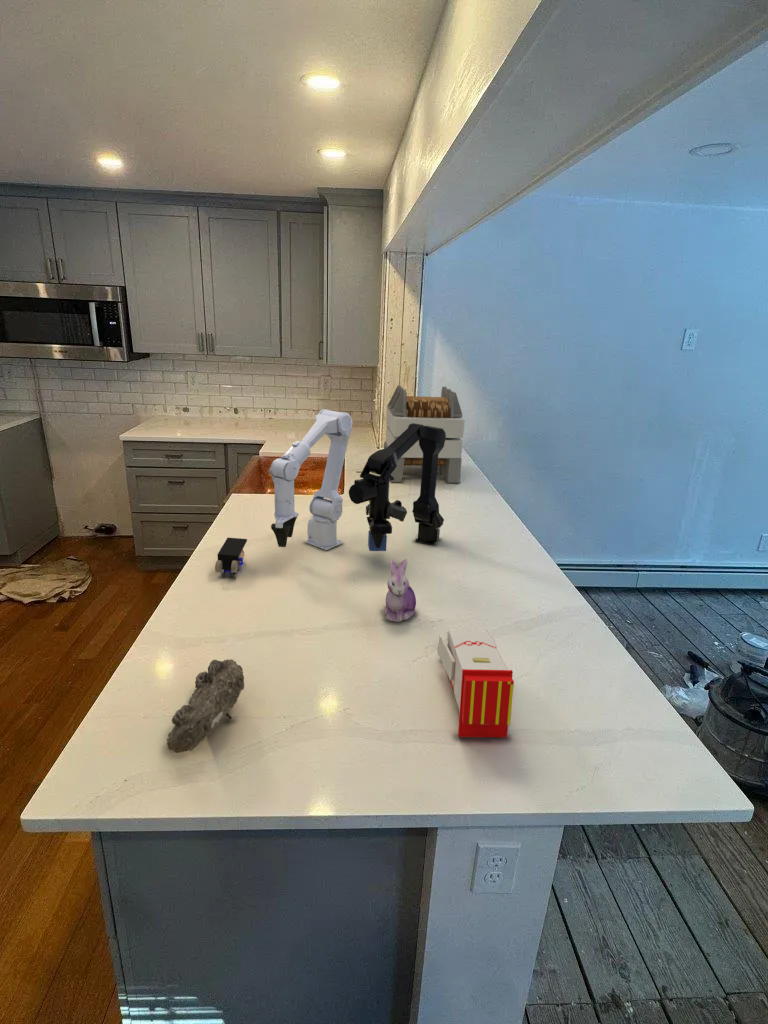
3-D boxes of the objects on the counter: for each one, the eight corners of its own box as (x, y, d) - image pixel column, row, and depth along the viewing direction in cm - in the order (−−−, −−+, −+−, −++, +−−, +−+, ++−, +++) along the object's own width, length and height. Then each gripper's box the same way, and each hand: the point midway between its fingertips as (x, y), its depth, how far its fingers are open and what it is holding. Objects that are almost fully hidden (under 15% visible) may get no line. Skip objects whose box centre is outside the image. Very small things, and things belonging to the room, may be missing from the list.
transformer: (382, 463, 289) (386, 382, 275) (445, 464, 293) (451, 384, 279) (390, 482, 257) (394, 392, 243) (460, 483, 261) (468, 394, 247)
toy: (488, 613, 130) (523, 677, 101) (484, 667, 133) (517, 744, 104) (435, 612, 130) (455, 676, 101) (432, 666, 133) (451, 743, 103)
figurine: (392, 627, 141) (395, 572, 136) (374, 608, 149) (376, 556, 144) (425, 619, 145) (429, 566, 140) (405, 601, 154) (408, 550, 149)
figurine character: (238, 584, 162) (249, 557, 175) (236, 562, 158) (247, 536, 172) (215, 584, 161) (227, 556, 175) (212, 561, 158) (225, 535, 171)
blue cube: (386, 551, 173) (386, 536, 171) (369, 551, 172) (369, 536, 171) (384, 545, 177) (385, 530, 176) (368, 545, 177) (368, 530, 175)
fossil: (192, 660, 117) (244, 628, 112) (224, 691, 120) (276, 661, 115) (142, 746, 98) (202, 712, 93) (182, 779, 101) (242, 748, 96)
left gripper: (292, 508, 160) (292, 552, 164) (303, 492, 173) (303, 533, 178) (267, 506, 160) (268, 550, 165) (280, 491, 174) (281, 532, 178)
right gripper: (410, 506, 161) (407, 556, 167) (401, 487, 179) (398, 533, 184) (371, 506, 160) (369, 557, 165) (366, 486, 177) (364, 533, 183)
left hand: (285, 541), depth 171 cm, fingers open, 7 cm apart
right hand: (377, 544), depth 174 cm, fingers closed on blue cube, 4 cm apart
